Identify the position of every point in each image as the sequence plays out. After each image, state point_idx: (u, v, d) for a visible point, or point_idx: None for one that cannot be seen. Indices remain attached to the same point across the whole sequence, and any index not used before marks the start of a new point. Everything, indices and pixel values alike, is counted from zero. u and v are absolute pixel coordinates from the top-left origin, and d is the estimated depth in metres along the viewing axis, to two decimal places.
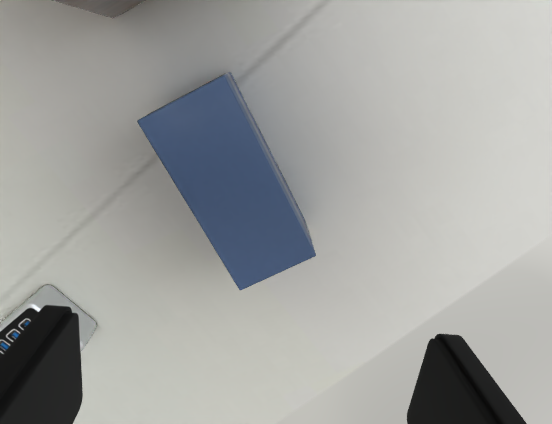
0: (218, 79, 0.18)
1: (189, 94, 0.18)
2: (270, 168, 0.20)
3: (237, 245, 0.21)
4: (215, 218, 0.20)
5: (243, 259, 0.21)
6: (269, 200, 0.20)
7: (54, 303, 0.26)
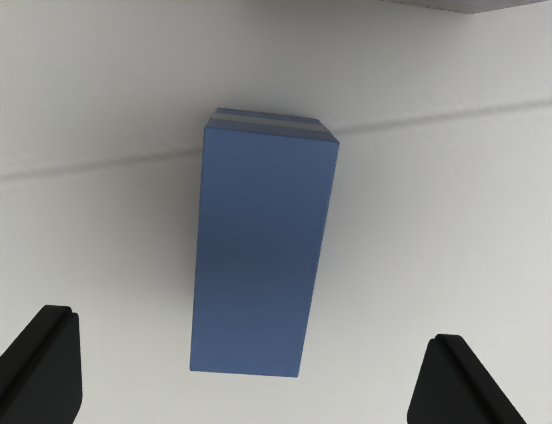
0: (330, 143, 0.14)
1: (286, 137, 0.14)
2: (316, 267, 0.15)
3: (221, 324, 0.16)
4: (218, 283, 0.15)
5: (217, 341, 0.16)
6: (290, 298, 0.16)
7: None
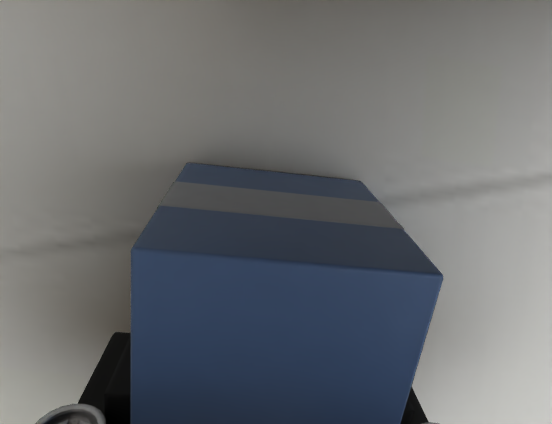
0: (423, 277, 0.06)
1: (324, 267, 0.06)
2: None
3: None
4: None
5: None
6: None
7: None
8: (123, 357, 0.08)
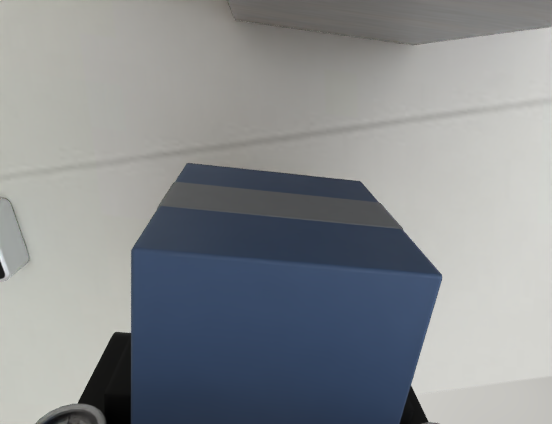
0: (422, 277, 0.06)
1: (323, 267, 0.06)
2: None
3: None
4: None
5: None
6: None
7: (4, 221, 0.24)
8: (123, 357, 0.08)
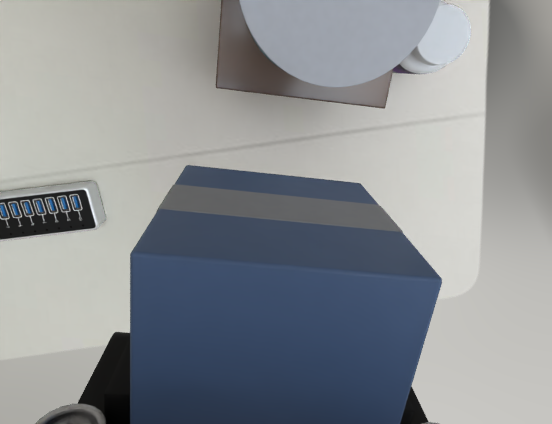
0: (422, 281, 0.06)
1: (323, 271, 0.06)
2: None
3: None
4: None
5: None
6: None
7: (94, 194, 0.40)
8: (123, 357, 0.08)
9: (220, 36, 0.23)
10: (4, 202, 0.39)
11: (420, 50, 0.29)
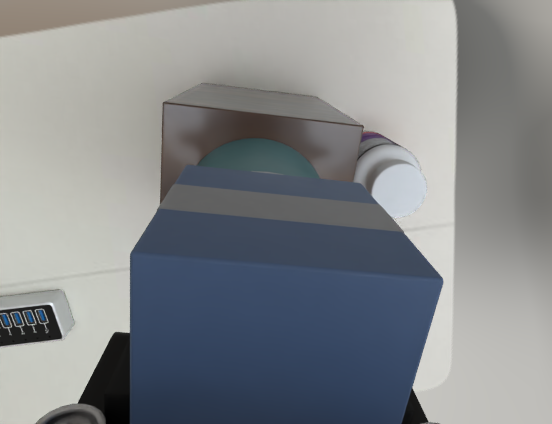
0: (423, 281, 0.06)
1: (324, 271, 0.06)
2: None
3: None
4: None
5: None
6: None
7: (61, 305, 0.40)
8: (123, 357, 0.08)
9: None
10: None
11: None
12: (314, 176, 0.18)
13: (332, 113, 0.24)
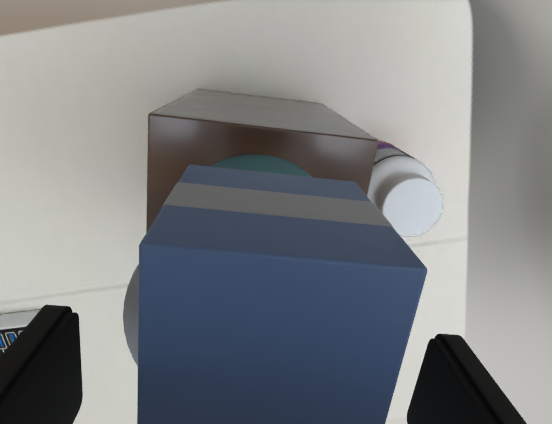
0: (409, 271, 0.06)
1: (317, 261, 0.06)
2: None
3: None
4: None
5: None
6: None
7: None
8: None
9: None
10: None
11: None
12: None
13: (341, 124, 0.22)
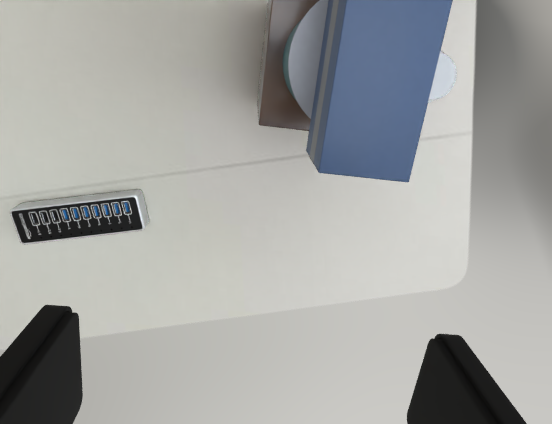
0: None
1: None
2: (435, 68, 0.18)
3: (350, 125, 0.19)
4: (352, 83, 0.18)
5: (345, 142, 0.19)
6: (411, 99, 0.19)
7: (141, 200, 0.48)
8: None
9: (263, 87, 0.30)
10: (67, 207, 0.46)
11: None
12: None
13: None
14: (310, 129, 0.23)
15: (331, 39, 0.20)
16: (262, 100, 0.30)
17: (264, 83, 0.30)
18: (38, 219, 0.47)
